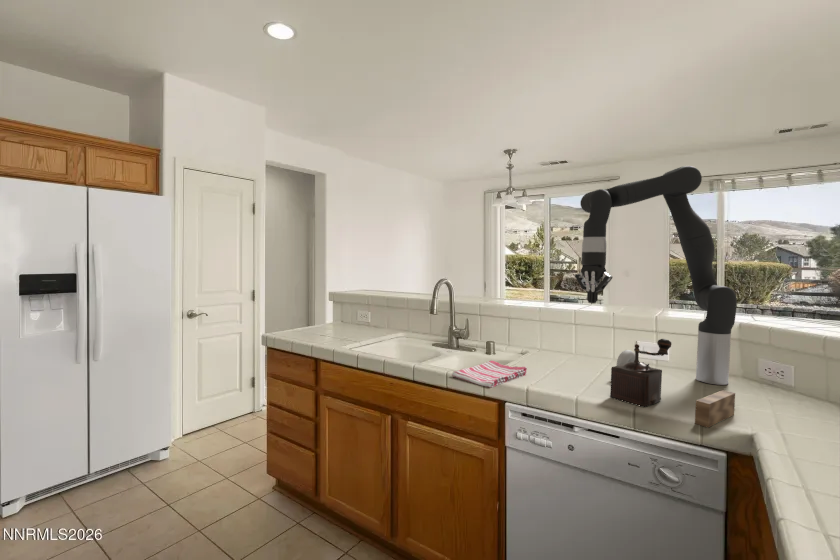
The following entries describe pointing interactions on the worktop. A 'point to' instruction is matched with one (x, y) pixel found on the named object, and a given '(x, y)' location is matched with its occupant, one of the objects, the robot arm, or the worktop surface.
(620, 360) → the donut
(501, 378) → the dish towel
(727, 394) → the block
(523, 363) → the worktop surface
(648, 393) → the manual coffee grinder
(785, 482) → the worktop surface
